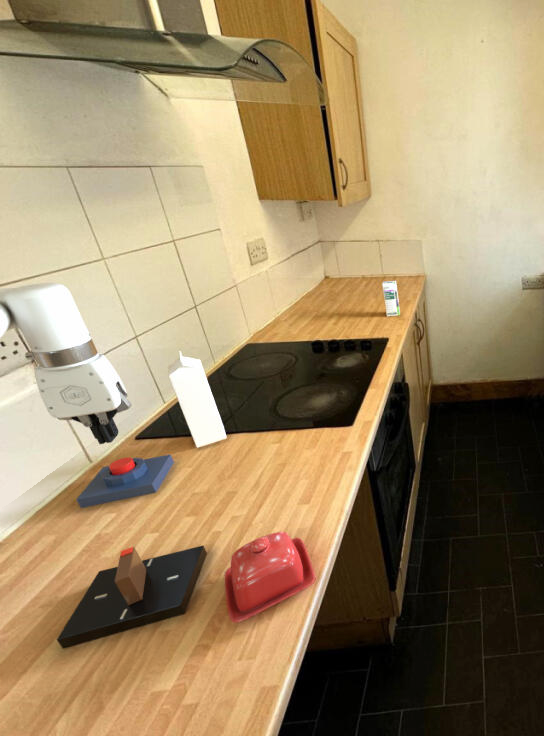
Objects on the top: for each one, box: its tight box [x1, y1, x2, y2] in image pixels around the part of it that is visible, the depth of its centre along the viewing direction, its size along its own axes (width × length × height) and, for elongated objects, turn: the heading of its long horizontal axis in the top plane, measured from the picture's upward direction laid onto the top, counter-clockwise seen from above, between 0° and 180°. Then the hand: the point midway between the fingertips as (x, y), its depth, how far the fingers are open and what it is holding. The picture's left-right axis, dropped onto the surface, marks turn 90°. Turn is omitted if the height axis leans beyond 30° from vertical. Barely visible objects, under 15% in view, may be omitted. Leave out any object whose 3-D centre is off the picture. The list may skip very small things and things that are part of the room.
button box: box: [75, 454, 175, 509], centre depth 85 cm, size 12×10×4 cm
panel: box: [56, 545, 208, 650], centre depth 62 cm, size 14×11×2 cm
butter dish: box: [223, 531, 316, 624], centre depth 63 cm, size 12×12×8 cm
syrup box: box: [381, 280, 401, 318], centre depth 180 cm, size 6×6×14 cm
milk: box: [167, 350, 227, 449], centre depth 96 cm, size 6×6×22 cm
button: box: [108, 456, 135, 475], centre depth 84 cm, size 4×4×2 cm
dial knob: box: [115, 546, 146, 605], centre depth 61 cm, size 6×2×5 cm, turn 34°
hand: (109, 439), depth 81 cm, fingers closed
